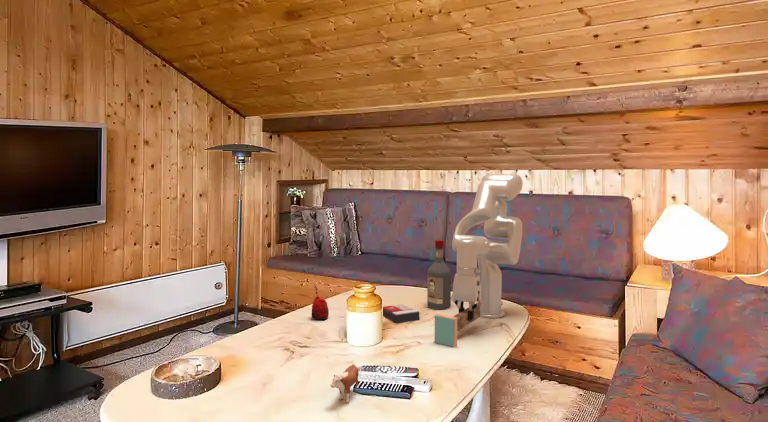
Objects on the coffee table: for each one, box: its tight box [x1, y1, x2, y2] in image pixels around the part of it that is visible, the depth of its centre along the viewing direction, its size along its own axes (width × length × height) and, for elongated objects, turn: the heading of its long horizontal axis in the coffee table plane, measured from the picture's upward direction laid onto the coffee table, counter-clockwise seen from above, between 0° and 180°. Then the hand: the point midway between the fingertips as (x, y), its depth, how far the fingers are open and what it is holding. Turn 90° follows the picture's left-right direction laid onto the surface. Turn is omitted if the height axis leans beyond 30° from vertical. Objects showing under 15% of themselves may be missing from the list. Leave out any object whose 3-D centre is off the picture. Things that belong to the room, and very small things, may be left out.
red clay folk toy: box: [311, 284, 330, 321], centre depth 212 cm, size 8×7×15 cm
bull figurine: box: [330, 364, 360, 404], centre depth 140 cm, size 4×13×8 cm, turn 159°
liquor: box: [426, 239, 452, 311], centre depth 228 cm, size 9×9×30 cm
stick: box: [452, 306, 481, 332], centre depth 194 cm, size 18×3×4 cm, turn 143°
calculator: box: [382, 303, 420, 324], centre depth 215 cm, size 11×4×15 cm
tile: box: [434, 313, 458, 348], centre depth 181 cm, size 2×8×10 cm, turn 54°
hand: (466, 318), depth 194 cm, fingers closed on stick, 2 cm apart
